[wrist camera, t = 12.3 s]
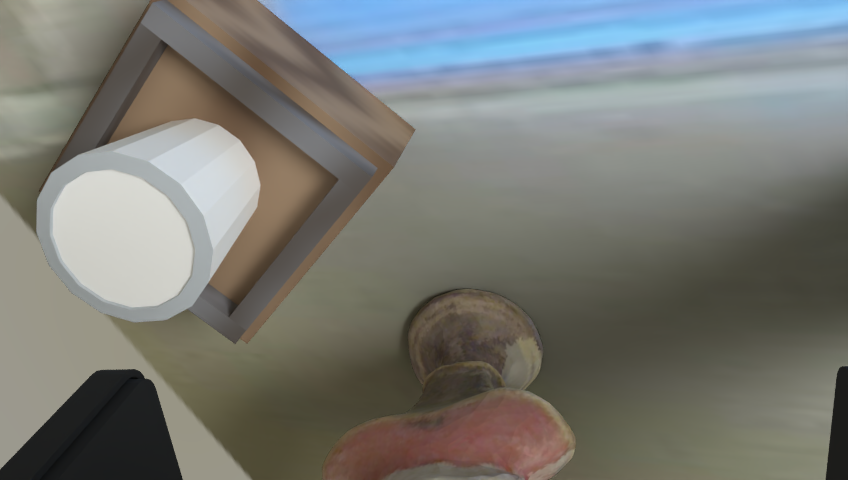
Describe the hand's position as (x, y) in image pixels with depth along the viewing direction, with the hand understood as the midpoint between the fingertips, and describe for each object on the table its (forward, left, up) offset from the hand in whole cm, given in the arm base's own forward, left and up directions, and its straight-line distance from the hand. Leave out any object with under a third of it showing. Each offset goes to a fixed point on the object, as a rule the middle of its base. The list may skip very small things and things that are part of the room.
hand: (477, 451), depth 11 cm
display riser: (+8, +12, -28) cm, 32 cm away
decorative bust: (-9, +15, -28) cm, 33 cm away
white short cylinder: (+8, +12, -22) cm, 27 cm away
